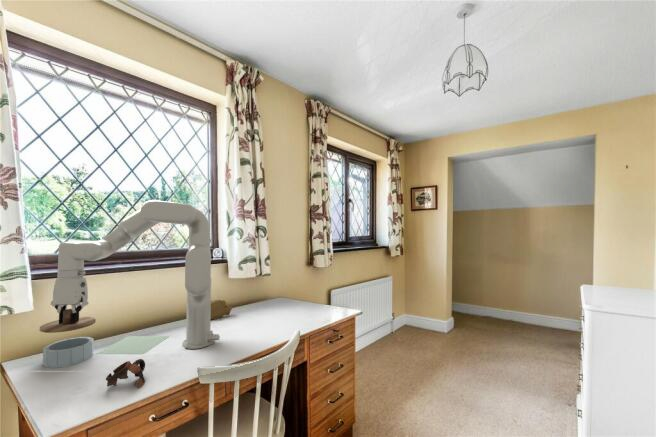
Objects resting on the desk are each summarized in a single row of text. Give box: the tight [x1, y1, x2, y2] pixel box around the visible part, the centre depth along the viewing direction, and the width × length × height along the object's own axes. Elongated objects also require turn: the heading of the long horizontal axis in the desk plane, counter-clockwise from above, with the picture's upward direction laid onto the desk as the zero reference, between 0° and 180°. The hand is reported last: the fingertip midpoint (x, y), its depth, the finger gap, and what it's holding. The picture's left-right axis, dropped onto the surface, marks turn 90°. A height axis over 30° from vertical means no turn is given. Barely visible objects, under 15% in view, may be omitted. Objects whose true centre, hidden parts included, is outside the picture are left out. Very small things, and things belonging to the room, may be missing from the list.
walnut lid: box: [39, 308, 96, 334], centre depth 113 cm, size 16×16×6 cm
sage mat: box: [95, 335, 170, 355], centre depth 127 cm, size 19×19×1 cm
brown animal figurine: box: [105, 358, 146, 389], centre depth 96 cm, size 12×10×8 cm
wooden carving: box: [211, 299, 233, 320], centre depth 165 cm, size 16×5×10 cm, turn 133°
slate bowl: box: [42, 336, 95, 369], centre depth 113 cm, size 14×14×6 cm
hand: (68, 322), depth 113 cm, fingers closed on walnut lid, 3 cm apart
